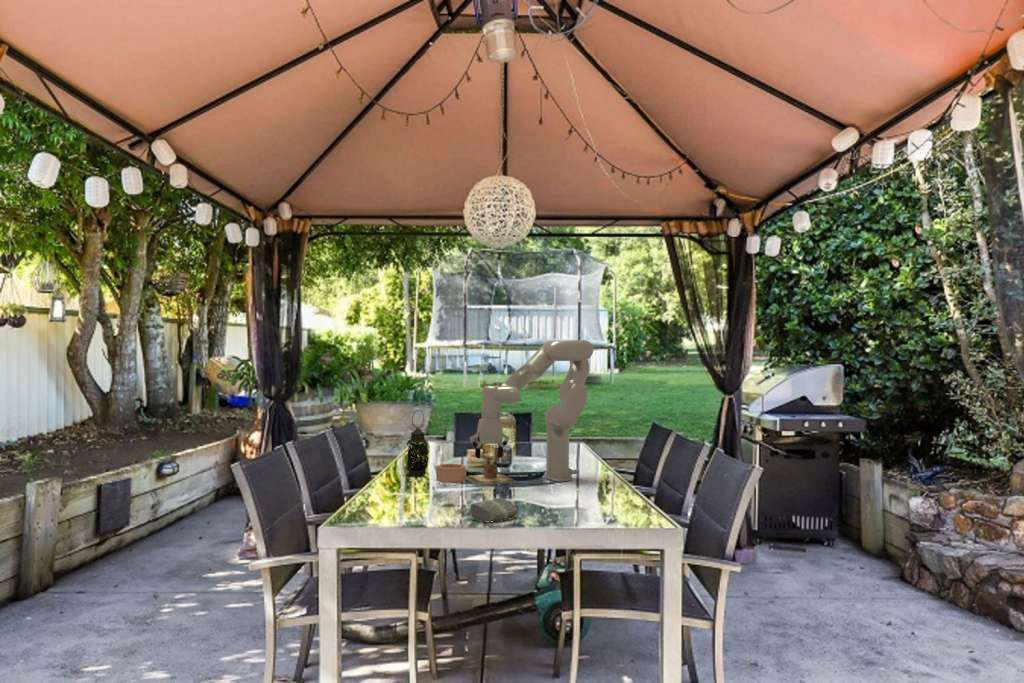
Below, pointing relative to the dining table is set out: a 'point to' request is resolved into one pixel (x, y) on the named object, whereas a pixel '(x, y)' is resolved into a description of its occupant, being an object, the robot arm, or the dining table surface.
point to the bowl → (451, 473)
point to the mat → (488, 483)
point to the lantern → (417, 453)
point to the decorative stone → (493, 510)
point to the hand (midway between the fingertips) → (488, 457)
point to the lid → (490, 476)
